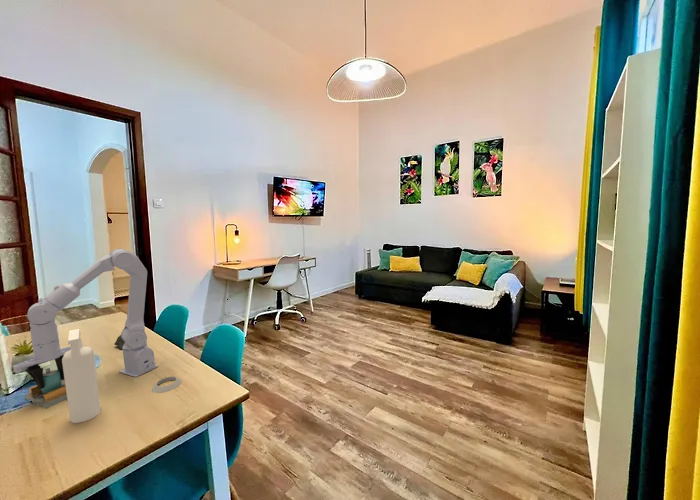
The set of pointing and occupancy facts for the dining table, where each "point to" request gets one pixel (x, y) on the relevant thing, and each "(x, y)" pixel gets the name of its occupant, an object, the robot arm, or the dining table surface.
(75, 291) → the robot arm
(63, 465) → the dining table surface
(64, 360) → the white bottle
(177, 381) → the ring
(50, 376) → the spout can
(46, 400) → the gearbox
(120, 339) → the stone
